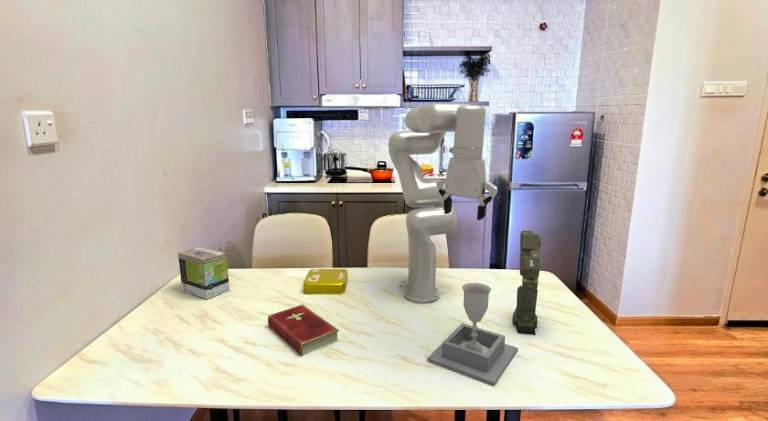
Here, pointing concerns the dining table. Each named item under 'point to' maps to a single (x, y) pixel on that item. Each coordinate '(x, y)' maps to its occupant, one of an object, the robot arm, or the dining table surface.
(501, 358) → the housing
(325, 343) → the hardcover book
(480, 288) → the chalice
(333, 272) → the element tile
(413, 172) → the robot arm
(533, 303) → the mechanical leg
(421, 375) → the dining table surface
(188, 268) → the tea box
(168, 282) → the dining table surface
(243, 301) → the dining table surface
